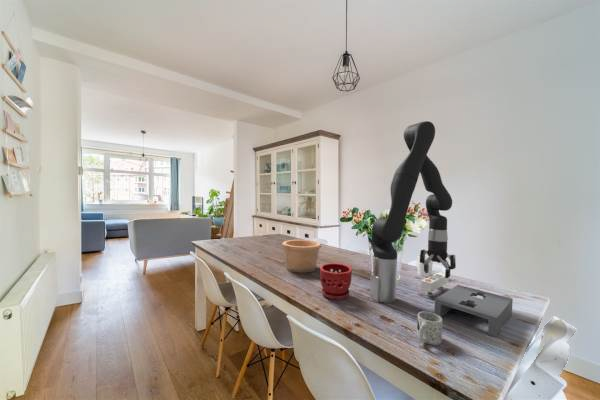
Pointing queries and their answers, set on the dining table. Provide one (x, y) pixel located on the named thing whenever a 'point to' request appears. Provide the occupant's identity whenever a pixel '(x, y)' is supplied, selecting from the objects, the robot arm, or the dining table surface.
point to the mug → (429, 328)
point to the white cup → (421, 267)
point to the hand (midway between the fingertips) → (436, 275)
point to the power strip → (433, 283)
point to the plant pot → (335, 280)
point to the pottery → (301, 255)
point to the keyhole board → (477, 306)
